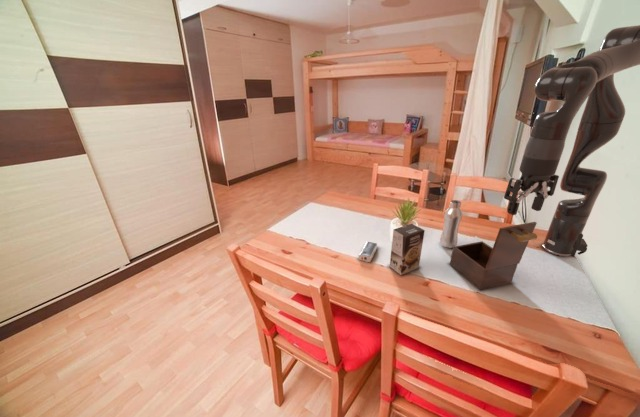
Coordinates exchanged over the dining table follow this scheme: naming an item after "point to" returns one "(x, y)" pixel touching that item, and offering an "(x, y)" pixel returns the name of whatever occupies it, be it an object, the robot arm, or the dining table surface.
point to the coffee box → (406, 248)
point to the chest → (480, 266)
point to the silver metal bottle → (451, 225)
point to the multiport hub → (368, 251)
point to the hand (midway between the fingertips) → (523, 211)
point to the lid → (510, 245)
